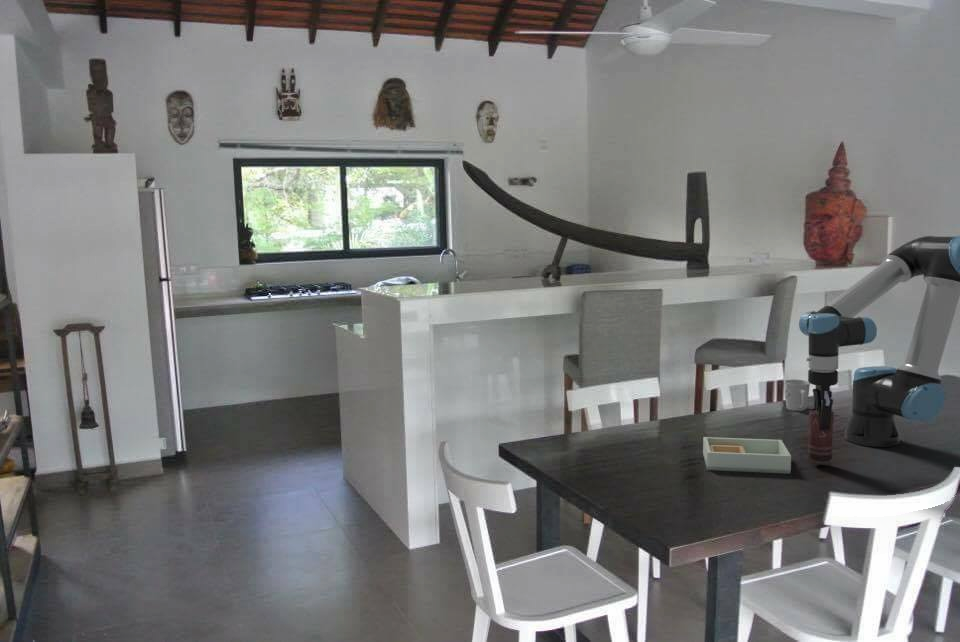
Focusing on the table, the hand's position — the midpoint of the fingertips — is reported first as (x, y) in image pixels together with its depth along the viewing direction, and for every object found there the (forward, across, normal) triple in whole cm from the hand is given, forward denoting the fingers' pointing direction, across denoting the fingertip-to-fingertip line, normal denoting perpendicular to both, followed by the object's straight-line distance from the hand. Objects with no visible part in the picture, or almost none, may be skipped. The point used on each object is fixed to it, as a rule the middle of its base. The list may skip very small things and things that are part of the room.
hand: (821, 451), depth 210 cm
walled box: (+4, +1, -21) cm, 21 cm away
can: (+2, 0, 0) cm, 2 cm away
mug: (+5, -62, +5) cm, 62 cm away
